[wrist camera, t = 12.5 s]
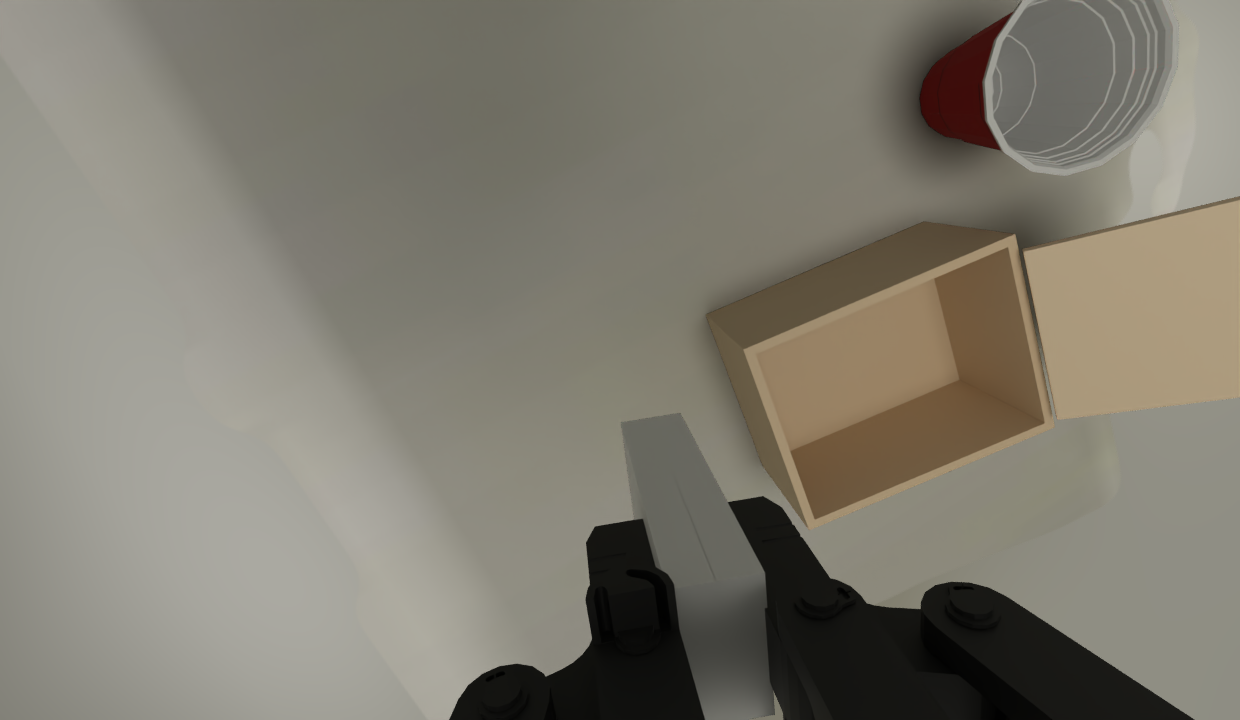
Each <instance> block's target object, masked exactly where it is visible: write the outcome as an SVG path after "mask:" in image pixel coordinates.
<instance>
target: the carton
mask: <svg viewBox="0 0 1240 720" xmlns="http://www.w3.org/2000/svg"><path fill="white" fill-rule="evenodd" d="M706 317H707V320H708V322H709V325H710V328H711V330H712V333H713V335H714V338H715V341H716V343H717V346H718V349H719V351H720V354H721V357H722V359H723V362H724V365H725V367H726V370H727V373H728V375H729V378H730V381H731V383H732V386H733V389H734V391H735V394H736V396H737V399H738V402H739V404H740V407H741V410H742V412H743V415H744V418H745V420H746V423H747V426H748V428H749V431H750V434H751V436H752V439H753V442H754V444H755V447H756V449H757V452H758V455H759V457H760V460H761V463H762V465H763V467H764V468H765V470H766V471H767V472H768V474H769V475H770V477H771V478H772V479H773V481H774V482H775V484H776V485H777V486H778V488H779V489H780V491H781V492H782V493H783V495H784V496H785V497H786V499H787V500H788V502H789V503H790V504H791V506H792V507H793V509H794V510H795V511H796V513H797V514H798V516H799V517H800V518H801V520H802V521H803V523H804V524H805V525H806V527H807V528H808V529H809V530H811V529H813V528H816V527H818V526H821V525H823V524H825V523H828V522H830V521H832V520H835V519H837V518H840V517H842V516H844V515H847V514H849V513H852V512H854V511H856V510H859V509H861V508H863V507H866V506H868V505H871V504H873V503H875V502H878V501H880V500H883V499H885V498H887V497H890V496H892V495H894V494H897V493H899V492H902V491H904V490H906V489H909V488H911V487H914V486H916V485H918V484H921V483H923V482H925V481H928V480H930V479H933V478H935V477H937V476H940V475H942V474H945V473H947V472H949V471H952V470H954V469H956V468H959V467H961V466H964V465H966V464H968V463H971V462H973V461H976V460H978V459H980V458H983V457H985V456H987V455H990V454H992V453H995V452H997V451H999V450H1002V449H1004V448H1007V447H1009V446H1011V445H1014V444H1016V443H1018V442H1021V441H1023V440H1026V439H1028V438H1030V437H1033V436H1035V435H1038V434H1040V433H1042V432H1045V431H1047V430H1049V429H1052V428H1054V427H1055V426H1054V421H1053V416H1052V411H1051V406H1050V401H1049V396H1048V391H1047V387H1046V382H1045V377H1044V372H1043V367H1042V362H1041V357H1040V352H1039V347H1038V343H1037V338H1036V333H1035V328H1034V323H1033V318H1032V313H1031V308H1030V304H1029V299H1028V294H1027V289H1026V284H1025V279H1024V274H1023V269H1022V265H1021V260H1020V255H1019V250H1018V245H1017V240H1016V235H1015V234H1012V233H1004V232H997V231H989V230H982V229H975V228H967V227H960V226H952V225H945V224H937V223H930V222H922V223H919V224H917V225H915V226H912V227H910V228H908V229H905V230H903V231H901V232H898V233H896V234H894V235H891V236H889V237H887V238H884V239H882V240H880V241H877V242H875V243H872V244H870V245H868V246H865V247H863V248H861V249H858V250H856V251H854V252H851V253H849V254H847V255H844V256H842V257H840V258H837V259H835V260H833V261H830V262H828V263H826V264H823V265H821V266H819V267H816V268H814V269H812V270H809V271H807V272H805V273H802V274H800V275H798V276H795V277H793V278H790V279H788V280H786V281H783V282H781V283H779V284H776V285H774V286H772V287H769V288H767V289H765V290H762V291H760V292H758V293H755V294H753V295H751V296H748V297H746V298H744V299H741V300H739V301H737V302H734V303H732V304H730V305H727V306H725V307H723V308H720V309H718V310H716V311H713V312H711V313H708V314H706Z"/></svg>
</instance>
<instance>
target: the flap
mask: <svg viewBox="0 0 1240 720" xmlns="http://www.w3.org/2000/svg"><path fill="white" fill-rule="evenodd" d="M1022 250H1023V255H1024V260H1025V265H1026V270H1027V275H1028V280H1029V285H1030V290H1031V295H1032V300H1033V304H1034V309H1035V314H1036V319H1037V324H1038V329H1039V334H1040V339H1041V344H1042V349H1043V354H1044V359H1045V364H1046V369H1047V373H1048V378H1049V383H1050V388H1051V393H1052V398H1053V403H1054V408H1055V413H1056V417H1057V420H1060V419H1068V418H1076V417H1084V416H1092V415H1101V414H1109V413H1117V412H1124V411H1133V410H1141V409H1149V408H1157V407H1166V406H1174V405H1182V404H1190V403H1198V402H1206V401H1214V400H1223V399H1230V398H1239V397H1240V196H1239V197H1235V198H1231V199H1226V200H1222V201H1218V202H1214V203H1210V204H1206V205H1201V206H1197V207H1193V208H1189V209H1185V210H1181V211H1177V212H1173V213H1168V214H1164V215H1160V216H1156V217H1152V218H1148V219H1144V220H1139V221H1135V222H1131V223H1127V224H1123V225H1119V226H1115V227H1110V228H1106V229H1102V230H1098V231H1094V232H1090V233H1086V234H1082V235H1077V236H1073V237H1069V238H1065V239H1061V240H1057V241H1053V242H1048V243H1044V244H1040V245H1036V246H1032V247H1028V248H1024V249H1022Z"/></svg>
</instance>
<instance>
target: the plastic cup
mask: <svg viewBox="0 0 1240 720" xmlns="http://www.w3.org/2000/svg"><path fill="white" fill-rule="evenodd" d="M1178 49H1179V23H1178V20H1177V18H1176V15H1175V13H1174V10H1173V8H1172V5H1171V2H1170V0H1023V1H1021V2H1020V3H1019V4H1018V6H1017V7H1016V9H1015V10H1014V12H1012V13H1010V14H1009V15H1007V16H1005V17H1004V18H1002V19H1000V20H999V21H997V22H995V23H994V24H992V25H990V26H989V27H987V28H986V29H984V30H982V31H981V32H979V33H977V34H976V35H974V36H972V37H971V38H970V39H969V40H967V41H966V42H965V43H964V44H962V45H960V46H959V47H957V48H955V49H953V50H952V51H950V52H949V53H948V54H946V55H945V56H944V57H943V58H941V59H940V60H939V61H938V62H936V64H935V65H934V66H932V68H931V70H930V71H929V73H928V74H927V76H926V78H925V79H924V81H923V85H922V90H921V94H920V104H921V112H922V115H923V116H924V118H925V120H926V122H927V123H928V125H929V126H930V127H931V128H932V129H934V130H935V131H937V132H938V133H940V134H942V135H943V136H945V137H951V138H956V139H961V140H963V141H964V142H968V143H972V144H976V145H980V146H985V147H989V148H993V149H997V150H1001V151H1002V152H1004V153H1005V154H1007V155H1008V156H1010V157H1011V158H1012V159H1014V160H1015V161H1017V162H1018V163H1020V164H1021V165H1023V166H1024V167H1025V168H1027V169H1028V170H1030V171H1032V172H1039V173H1047V174H1055V175H1062V176H1067V175H1070V174H1074V173H1077V172H1081V171H1084V170H1088V169H1091V168H1095V167H1098V166H1102V165H1103V164H1105V163H1106V162H1107V161H1109V160H1110V159H1112V158H1113V157H1115V156H1116V155H1117V154H1119V153H1120V152H1122V151H1123V150H1124V149H1126V148H1127V147H1129V146H1130V145H1132V144H1133V143H1134V142H1136V140H1137V139H1138V138H1139V137H1140V135H1141V134H1142V133H1143V131H1144V130H1145V129H1146V128H1147V126H1148V125H1149V124H1150V122H1151V121H1152V120H1153V119H1154V117H1155V116H1156V115H1157V113H1158V112H1159V111H1160V109H1161V108H1162V107H1163V104H1164V102H1165V99H1166V96H1167V94H1168V91H1169V88H1170V86H1171V83H1172V80H1173V78H1174V75H1175V73H1176V70H1177V67H1178Z"/></svg>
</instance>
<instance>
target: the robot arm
mask: <svg viewBox="0 0 1240 720" xmlns="http://www.w3.org/2000/svg"><path fill="white" fill-rule="evenodd" d="M621 428H622V435H623V442H624V449H625V457H626V464H627V471H628V478H629V486H630V493H631V500H632V507H633V515H634V520H631V521H625V522H619V523H613V524H607V525H602V526H596V527H594V529H593V531H592V533H591V535H590V536H589V538H588V540H587V542H586V546H587V557H588V568H589V578H590V586H589V587H588V590H587V595H586V605H587V611H588V617H589V623H590V628H591V634H592V640H591V643H590V645H589V647H588V648H587V649H586V651H585V652H584V653H583V655H582V656H580V657H579V658H578V659H577V660H576V661H575V662H573V663H572V664H570V665H568V666H567V667H565V668H563V669H562V670H560V671H557V672H555V673H553V674H551V675H549V676H546V677H545V675H544V674H543V673H542V672H540V671H539V670H537V669H536V668H534V667H533V666H527V665H521V664H512V665H505V666H499V667H497V668H495V669H492V670H490V671H488V672H486V673H483V674H482V675H481V676H479V677H478V678H477V679H476V680H474V681H473V682H472V683H471V684H469V685H468V686H467V688H466V689H465V691H464V692H463V694H462V695H461V697H460V698H459V699H458V701H457V704H456V706H455V708H454V710H453V712H452V715H451V717H450V719H449V720H749V719H754V718H759V717H764V716H769V715H775V709H774V695H773V690H774V693H775V695H776V697H777V700H778V702H779V704H780V707H781V709H782V711H783V718H784V720H1194V719H1193V718H1191V717H1190V716H1188V715H1187V714H1185V713H1183V712H1182V711H1180V710H1179V709H1177V708H1176V707H1174V706H1173V705H1171V704H1170V703H1168V702H1167V701H1165V700H1164V699H1162V698H1161V697H1159V696H1158V695H1156V694H1154V693H1153V692H1151V691H1150V690H1148V689H1147V688H1145V687H1144V686H1142V685H1141V684H1139V683H1138V682H1136V681H1135V680H1133V679H1132V678H1130V677H1129V676H1127V675H1125V674H1124V673H1122V672H1121V671H1119V670H1118V669H1116V668H1115V667H1113V666H1112V665H1110V664H1109V663H1107V662H1106V661H1104V660H1103V659H1101V658H1100V657H1098V656H1096V655H1095V654H1093V653H1092V652H1090V651H1089V650H1087V649H1086V648H1084V647H1082V646H1081V645H1080V644H1078V643H1077V642H1075V641H1073V640H1072V639H1071V638H1069V637H1067V636H1066V635H1064V634H1063V633H1061V632H1060V631H1058V630H1057V629H1055V628H1054V627H1052V626H1051V625H1049V624H1048V623H1046V622H1045V621H1043V620H1041V619H1040V618H1038V617H1037V616H1035V615H1034V614H1032V613H1031V612H1029V611H1028V610H1026V609H1025V608H1023V607H1022V606H1020V605H1019V604H1017V603H1015V602H1014V601H1013V600H1011V599H1009V598H1008V597H1006V596H1004V595H1002V594H1000V593H998V592H996V591H994V590H992V589H990V588H988V587H984V586H980V585H976V584H973V583H965V582H963V583H962V582H948V583H944V584H939V585H935V586H934V587H932V588H931V589H929V590H928V591H926V592H925V594H924V596H923V599H922V601H921V609H907V608H889V607H881V606H874V605H871V604H867V603H866V602H865V601H864V599H863V598H862V596H861V595H859V594H858V593H857V592H856V591H855V590H854V589H853V588H852V587H851V586H849V585H847V584H844V583H842V582H840V581H838V580H835V579H830V577H829V576H828V574H827V573H826V572H825V570H824V569H823V567H822V566H821V564H820V563H819V561H818V560H817V558H816V557H815V555H814V554H813V552H812V551H811V550H810V548H809V547H808V545H807V544H806V542H805V541H804V539H803V538H802V537H800V533H799V532H798V531H797V529H796V528H795V526H794V525H792V522H791V520H790V519H789V517H788V516H787V514H786V513H785V511H784V510H783V509H782V507H780V506H779V505H777V504H775V503H774V502H772V501H770V500H769V499H767V498H765V497H764V496H762V497H756V498H750V499H744V500H738V501H732V502H727V500H726V498H725V496H724V494H723V493H722V491H721V489H720V487H719V485H718V483H717V481H716V479H715V478H714V476H713V474H712V472H711V470H710V468H709V466H708V464H707V462H706V461H705V459H704V457H703V455H702V453H701V451H700V449H699V447H698V445H697V444H696V442H695V440H694V438H693V436H692V434H691V432H690V430H689V429H688V427H687V425H686V423H685V421H684V419H683V417H682V415H681V413H677V414H670V415H664V416H658V417H652V418H645V419H639V420H633V421H627V422H621Z"/></svg>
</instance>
